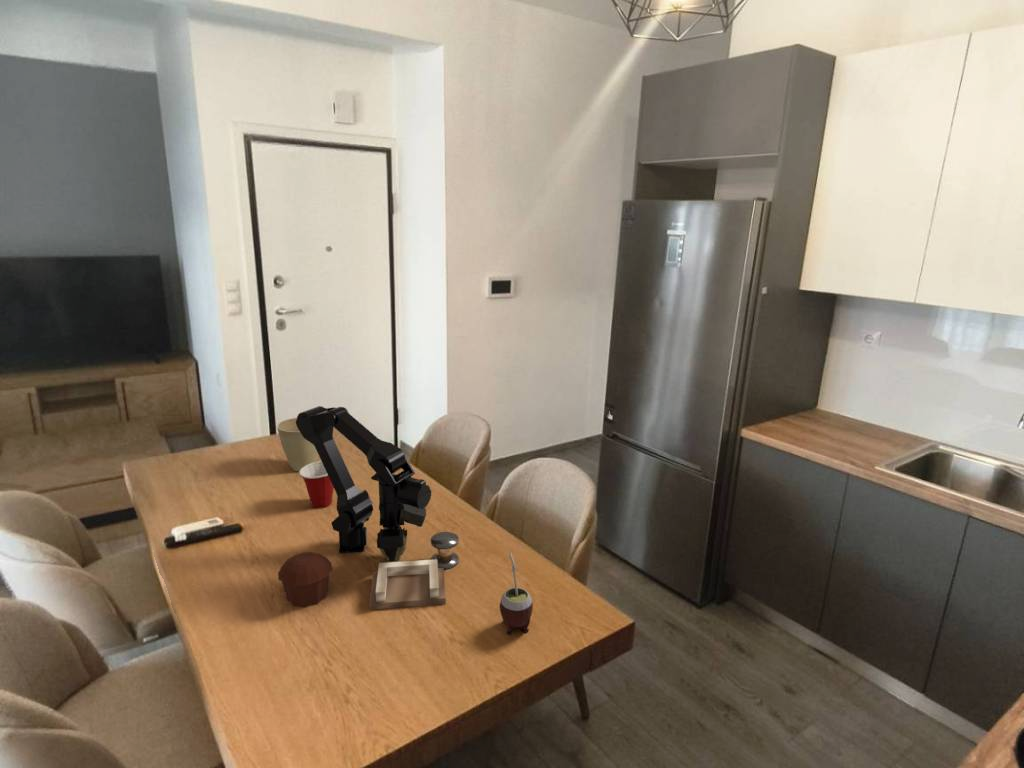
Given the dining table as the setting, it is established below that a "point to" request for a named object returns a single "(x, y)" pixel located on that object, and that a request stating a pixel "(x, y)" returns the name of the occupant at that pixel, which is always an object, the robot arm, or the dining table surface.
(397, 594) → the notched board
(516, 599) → the mate gourd
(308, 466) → the plastic cup
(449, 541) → the bobbin
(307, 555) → the muffin
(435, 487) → the dining table surface
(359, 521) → the robot arm
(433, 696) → the dining table surface
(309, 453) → the plant pot
